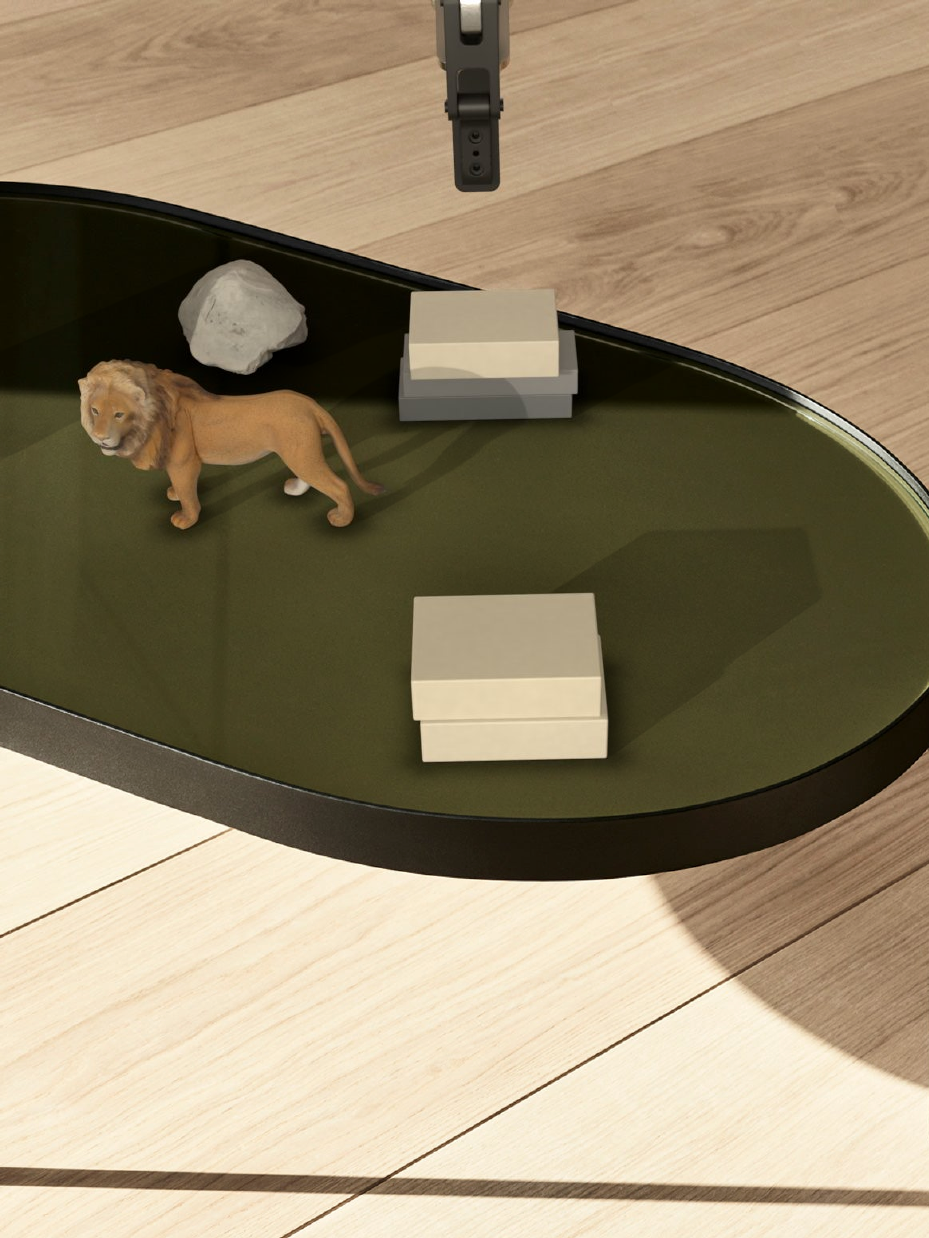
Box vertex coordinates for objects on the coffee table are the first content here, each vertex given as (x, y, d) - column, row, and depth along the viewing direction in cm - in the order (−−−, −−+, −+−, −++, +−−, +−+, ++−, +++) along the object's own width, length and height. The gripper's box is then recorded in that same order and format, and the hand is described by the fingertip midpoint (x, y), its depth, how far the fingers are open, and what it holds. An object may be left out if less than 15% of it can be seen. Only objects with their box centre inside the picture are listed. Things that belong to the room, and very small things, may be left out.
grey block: (399, 421, 101) (397, 373, 100) (401, 380, 105) (399, 333, 103) (577, 418, 101) (577, 370, 100) (573, 376, 105) (574, 329, 103)
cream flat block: (410, 380, 99) (408, 344, 98) (412, 326, 104) (411, 291, 102) (559, 377, 99) (559, 341, 98) (554, 323, 104) (555, 288, 102)
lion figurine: (98, 551, 92) (68, 395, 86) (102, 493, 96) (74, 340, 91) (390, 526, 94) (380, 370, 88) (382, 469, 98) (372, 317, 92)
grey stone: (343, 335, 109) (337, 257, 106) (273, 399, 103) (264, 319, 100) (220, 307, 112) (210, 230, 109) (145, 367, 106) (133, 289, 103)
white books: (415, 763, 80) (410, 684, 77) (418, 672, 84) (414, 595, 82) (607, 758, 80) (609, 680, 77) (599, 668, 84) (600, 591, 82)
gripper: (388, -232, 88) (407, 99, 98) (375, -146, 77) (398, 217, 87) (546, -236, 88) (548, 95, 98) (555, -150, 77) (556, 213, 87)
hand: (477, 152), depth 93 cm, fingers open, 8 cm apart
